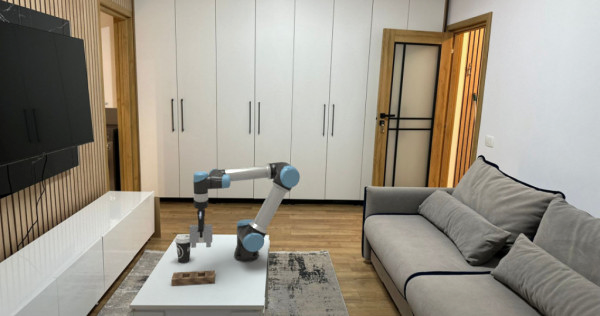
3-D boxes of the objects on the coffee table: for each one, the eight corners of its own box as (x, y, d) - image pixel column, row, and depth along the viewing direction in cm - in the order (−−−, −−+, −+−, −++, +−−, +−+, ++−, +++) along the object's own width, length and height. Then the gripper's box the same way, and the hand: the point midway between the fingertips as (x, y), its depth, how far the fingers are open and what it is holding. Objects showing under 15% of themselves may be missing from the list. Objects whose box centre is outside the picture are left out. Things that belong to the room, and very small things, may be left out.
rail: (215, 276, 220) (215, 270, 220) (214, 283, 213) (214, 277, 212) (173, 278, 217) (173, 272, 216) (171, 285, 209) (171, 279, 208)
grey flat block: (212, 244, 225) (212, 224, 223) (212, 247, 221) (212, 226, 219) (190, 245, 223) (190, 224, 221) (189, 248, 219) (189, 227, 217)
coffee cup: (187, 265, 233) (187, 240, 230) (172, 263, 235) (171, 239, 232) (195, 258, 242) (194, 234, 239) (180, 256, 244) (179, 233, 241)
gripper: (195, 195, 225) (196, 235, 229) (192, 205, 208) (193, 247, 212) (209, 195, 226) (209, 235, 230) (207, 204, 209) (207, 246, 214)
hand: (201, 240), depth 221 cm, fingers closed on grey flat block, 4 cm apart
